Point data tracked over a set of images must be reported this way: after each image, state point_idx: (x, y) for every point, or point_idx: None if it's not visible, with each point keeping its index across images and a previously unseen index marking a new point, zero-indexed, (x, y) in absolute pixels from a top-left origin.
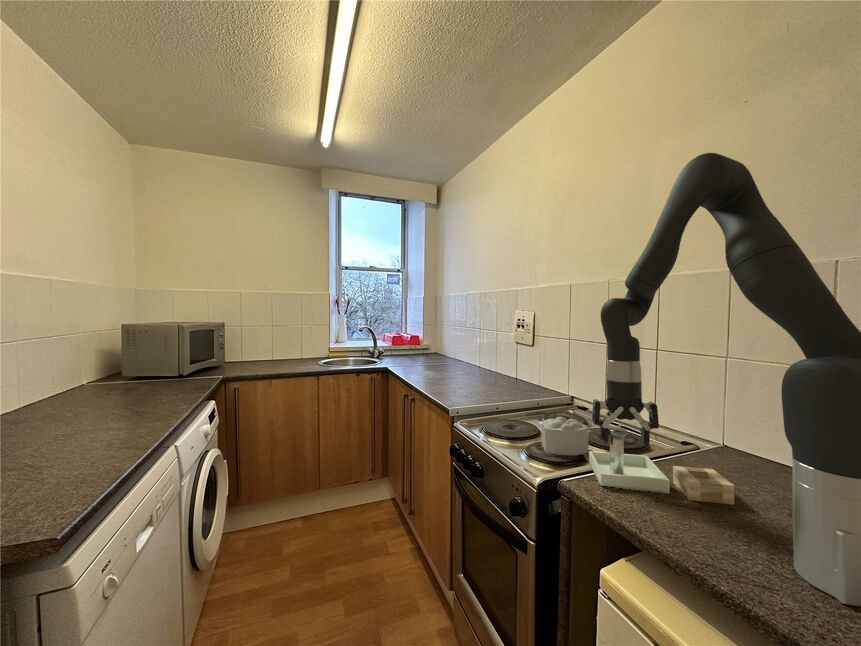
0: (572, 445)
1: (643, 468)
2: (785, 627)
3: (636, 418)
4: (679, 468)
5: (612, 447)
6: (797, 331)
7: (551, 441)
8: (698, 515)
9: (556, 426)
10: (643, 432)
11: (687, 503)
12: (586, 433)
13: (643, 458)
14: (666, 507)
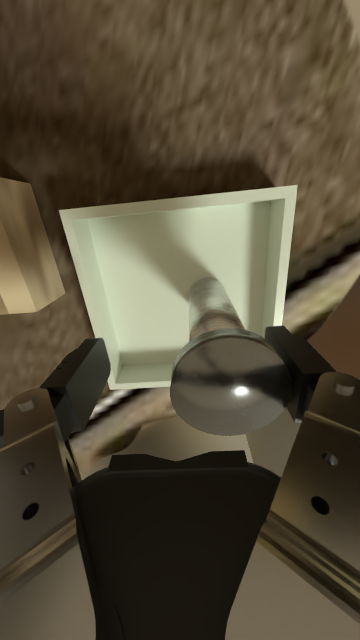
0: None
1: (128, 349)
2: None
3: (62, 465)
4: (18, 295)
5: (239, 320)
6: None
7: None
8: (9, 61)
9: None
10: (72, 381)
11: (37, 154)
12: (270, 466)
13: (120, 379)
14: (99, 90)
